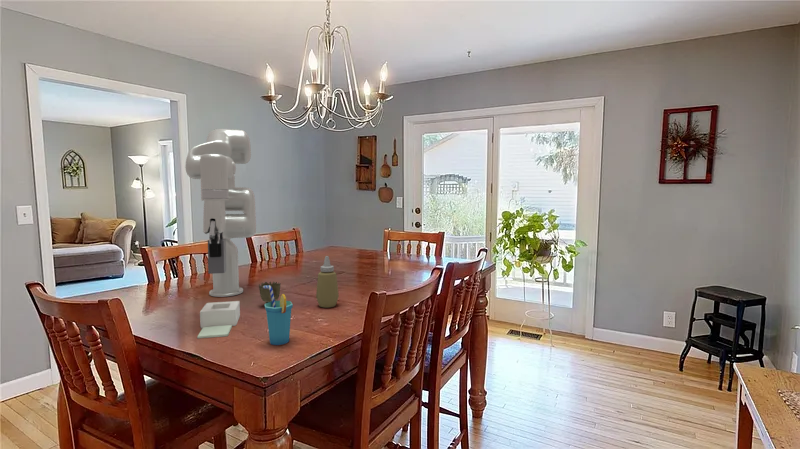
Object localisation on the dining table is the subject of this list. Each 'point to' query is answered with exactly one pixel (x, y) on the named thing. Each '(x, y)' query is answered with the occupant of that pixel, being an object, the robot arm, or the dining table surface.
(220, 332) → the mat
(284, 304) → the cup
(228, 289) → the robot arm
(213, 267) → the plug
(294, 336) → the dining table surface
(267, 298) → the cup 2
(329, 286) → the squeeze bottle
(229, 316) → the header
